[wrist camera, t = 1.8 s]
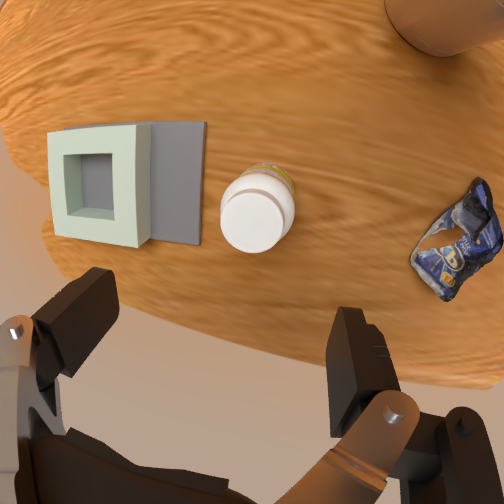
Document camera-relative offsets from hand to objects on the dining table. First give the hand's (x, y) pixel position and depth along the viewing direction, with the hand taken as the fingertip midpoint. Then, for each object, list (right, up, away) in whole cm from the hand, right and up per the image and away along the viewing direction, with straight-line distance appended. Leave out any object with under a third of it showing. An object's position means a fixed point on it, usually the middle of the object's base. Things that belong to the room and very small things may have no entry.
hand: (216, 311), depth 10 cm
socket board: (-12, +10, +18) cm, 24 cm away
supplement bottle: (+2, +8, +17) cm, 19 cm away
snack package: (+23, +5, +16) cm, 29 cm away
